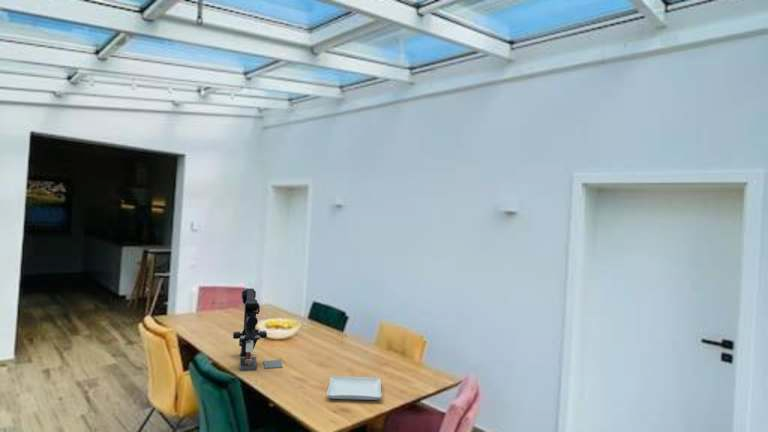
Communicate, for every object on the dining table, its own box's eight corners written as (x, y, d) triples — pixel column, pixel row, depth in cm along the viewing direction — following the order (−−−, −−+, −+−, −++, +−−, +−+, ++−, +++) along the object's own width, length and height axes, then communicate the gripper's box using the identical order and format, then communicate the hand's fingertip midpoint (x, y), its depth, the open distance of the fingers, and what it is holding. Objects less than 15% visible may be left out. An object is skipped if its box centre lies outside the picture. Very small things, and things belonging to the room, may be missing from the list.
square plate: (380, 384, 251) (380, 377, 251) (381, 404, 223) (382, 396, 224) (330, 382, 250) (330, 375, 250) (325, 402, 223) (326, 394, 223)
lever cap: (245, 349, 270) (246, 339, 271) (252, 348, 272) (253, 339, 272) (245, 352, 265) (246, 342, 265) (252, 351, 266) (253, 341, 266)
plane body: (240, 362, 274) (240, 351, 275) (255, 361, 277) (256, 350, 277) (240, 370, 259) (241, 359, 259) (257, 369, 262) (257, 358, 262)
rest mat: (263, 361, 277) (263, 360, 277) (280, 361, 280) (280, 360, 280) (264, 368, 265) (265, 367, 265) (282, 367, 268) (282, 366, 268)
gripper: (233, 326, 258) (232, 354, 258) (268, 325, 264) (266, 352, 264) (233, 321, 268) (232, 348, 268) (266, 321, 274) (265, 347, 274)
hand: (249, 349), depth 268 cm, fingers closed on lever cap, 4 cm apart
